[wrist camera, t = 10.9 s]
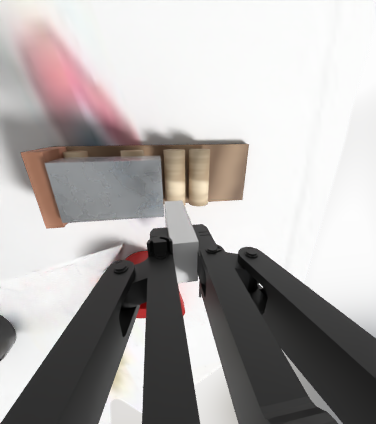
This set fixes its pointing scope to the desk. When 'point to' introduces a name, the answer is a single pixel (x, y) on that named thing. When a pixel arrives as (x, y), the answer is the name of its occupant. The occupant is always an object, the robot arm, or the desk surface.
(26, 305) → the desk surface
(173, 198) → the cylinder
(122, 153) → the roller
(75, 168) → the slab
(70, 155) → the roller
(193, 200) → the roller
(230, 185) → the board
